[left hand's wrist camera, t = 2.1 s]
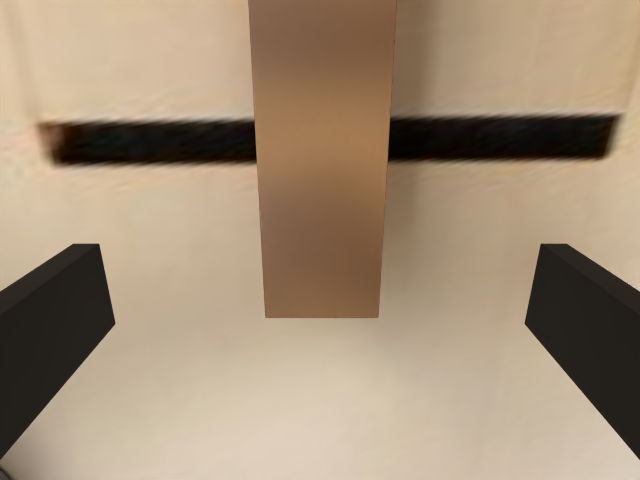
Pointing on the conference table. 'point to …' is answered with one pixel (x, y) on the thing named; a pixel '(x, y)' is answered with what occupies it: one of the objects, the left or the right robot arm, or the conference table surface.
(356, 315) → the beam
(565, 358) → the left robot arm
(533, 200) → the conference table surface
